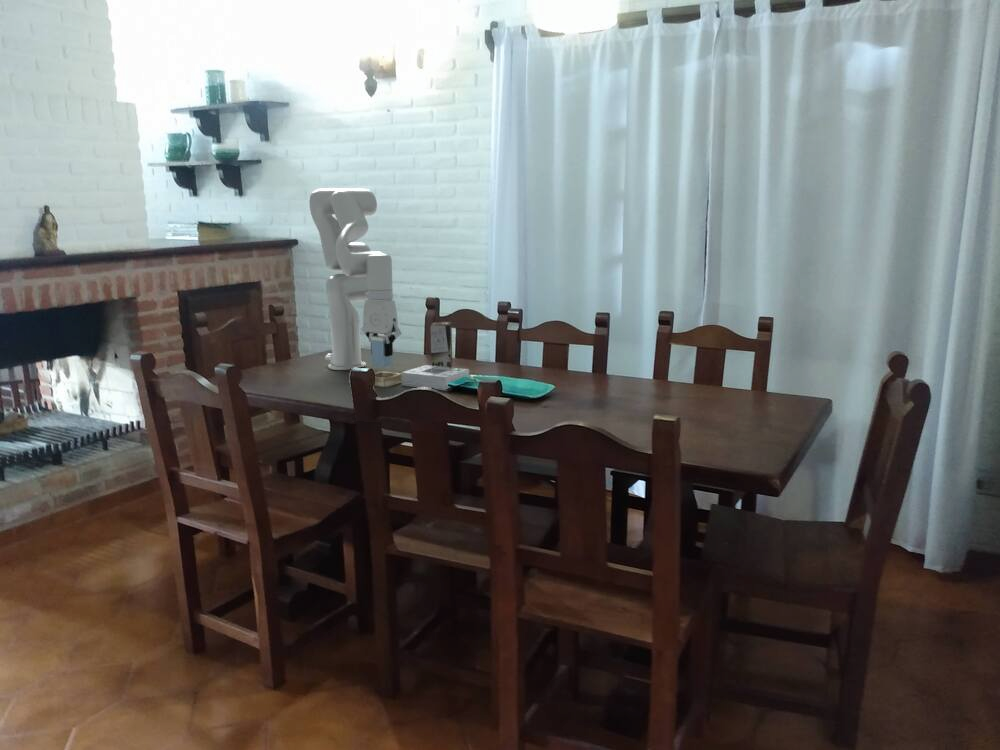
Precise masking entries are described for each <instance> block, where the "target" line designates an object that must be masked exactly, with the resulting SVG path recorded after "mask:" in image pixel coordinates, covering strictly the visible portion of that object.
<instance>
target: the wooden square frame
mask: <svg viewBox="0 0 1000 750" xmlns="http://www.w3.org/2000/svg"><path fill="white" fill-rule="evenodd" d="M374 373H375V379H376V381H375V386H374V387H376V386H377V387H383V388H389V387H392V386H395V385H398V384H402V380H401V372H392V371H383V370H382V371H381V370H380V371H377V372H374Z"/></svg>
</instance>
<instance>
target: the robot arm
mask: <svg viewBox="0 0 1000 750" xmlns="http://www.w3.org/2000/svg"><path fill="white" fill-rule="evenodd" d="M308 202H309V210H310V216H311V218H312V220H313V223H314V224H315V227H316V229H317V231H318V234H319V239H320V244H321V247H322V248H321V249H322V253H323V254H322V255H323V258H324V259H323V260H324V262H325V263H324V264H325V265H326V267H327V269H328V270H329V271H331V272H342V273H335V274H333V275H330V276H329V277H328V278H327V279H326V280H325V281H326V282H325V284H324V285H325V293H326V296H327V300H328V301H327V302H328V308H329V309H328V310H329V318H330V320H329V321H330V332H331V333H330V335H331V352H332V353H327V354H326V355H325V357H324V360H326V361H327V360H328V361H330V363H329V364H328V365H327V366H328V369H330V370H335V371H351V370H350V369H351V368H353V367H364V366H365V367H367V363H366V362H365V361H362V348H361V345H362V344H361V331H362V333H364V335H365V336H366V337H367V338H368V342H370V343H371V337H372V336H376V335H384V336H385V340H386V343H385V356H391V355H392V356H393V352H394V349H393V343H395V340H396V339H397V338H398V337H400V336H401V335H402V331H401V329H400V327H399V326H398V313H397V312H398V310H397V307H396V302H395V300H394V299H393V297H394V294H393V293H394V292H393V265H392V264H393V262H392V256H391V255H390V254H388V253H384V252H382V251H377V250H376V251H375V250H371V248H370V247H369V245H368V244H367V243H364V242H360V241H359V242H356V241H357V240H359V239H362V238H363V237H364V236H365V235H366V234H367V233H368V231H369V223H368V221H367V219H366V216H373V215H375V213H376V211H377V208H378V203H377V198H376V196H375V194H374V193H373V191H371V190H370V189H367V188H340V187H339V188H336V187H335V188H334V187H333V188H332V187H331V188H330V187H329V188H317V189H316V190H314V191H312V192H311V194H310V196H309V201H308ZM333 215H335V217H334V216H333ZM356 302H364V305H363V314H362V319H363V320H362V328H361V329H360V325H361V324H360V316H359V313H358V311H357V310H356V308H355V307H354V305H352V303H356ZM370 352H371V353H370V354H371V355H372V348H371V347H370ZM359 365H361V366H359ZM365 367H364V368H365Z"/></svg>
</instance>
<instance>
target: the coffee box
mask: <svg viewBox="0 0 1000 750" xmlns="http://www.w3.org/2000/svg"><path fill="white" fill-rule="evenodd" d="M452 323H453V322H452V321H439V322H436V321H435V322H434V321H433V322H432V323H431V324H430V328H429V329H430V353H431V354H430V363H431V365H430V366H441V367H451V368H454V367H453V337H452V336H453V334H452V333H453V331H452V325H453V324H452Z"/></svg>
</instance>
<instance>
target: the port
mask: <svg viewBox="0 0 1000 750" xmlns="http://www.w3.org/2000/svg"><path fill="white" fill-rule="evenodd" d="M400 373H401V380H402V382H401V386H405V387H413V388H420V386H425V387H431V388H434V389H433V390H439V391H447V390H446V389H448V388H449V386H448V383H450V382H452V381H455V380H458V379H460V378H462V377H466V376H469V377H470V368H460V367H453V368H451V367H441V366H431V365H429V364H425V365H421V366H418V367H415V368H411V369H407V370H405V371H402V372H400Z"/></svg>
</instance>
